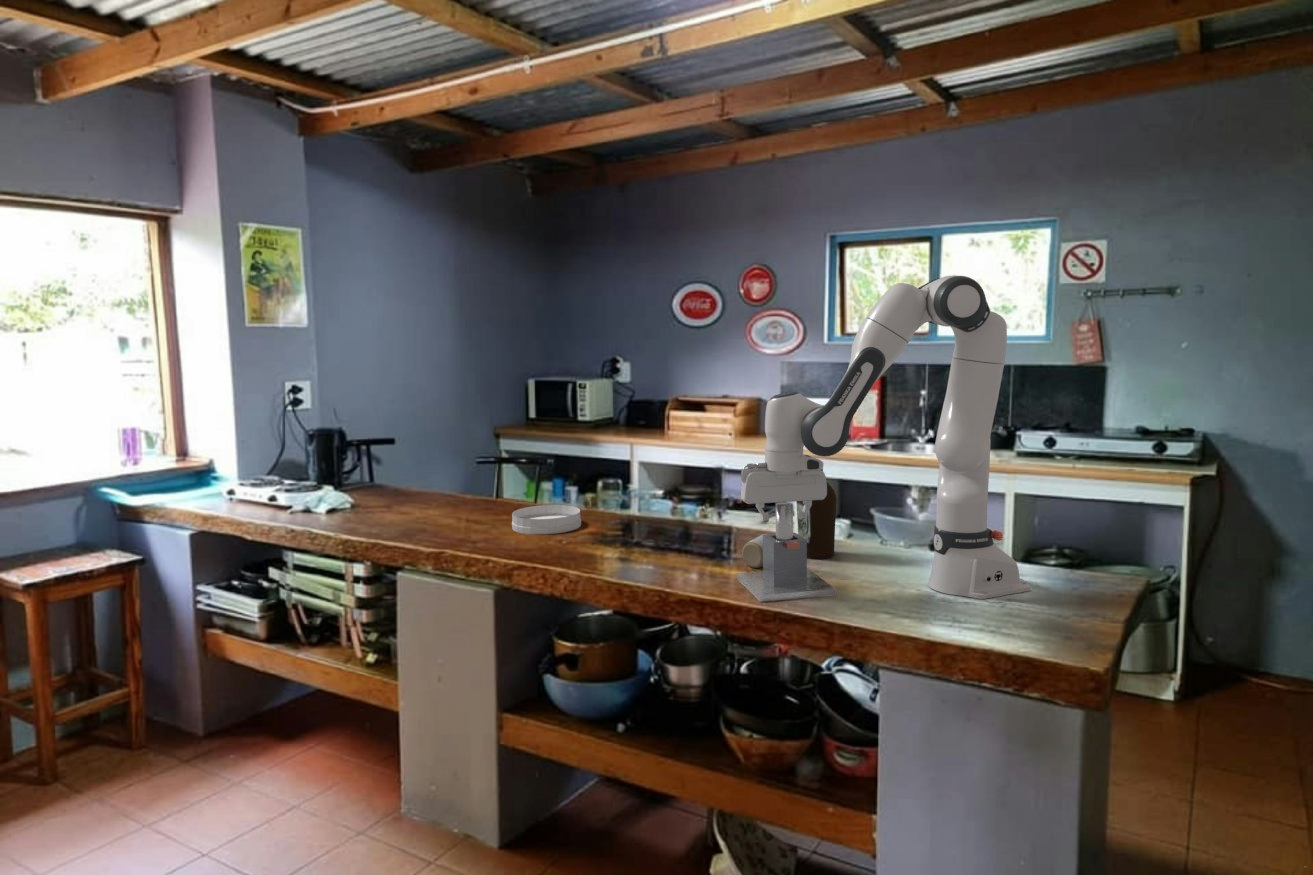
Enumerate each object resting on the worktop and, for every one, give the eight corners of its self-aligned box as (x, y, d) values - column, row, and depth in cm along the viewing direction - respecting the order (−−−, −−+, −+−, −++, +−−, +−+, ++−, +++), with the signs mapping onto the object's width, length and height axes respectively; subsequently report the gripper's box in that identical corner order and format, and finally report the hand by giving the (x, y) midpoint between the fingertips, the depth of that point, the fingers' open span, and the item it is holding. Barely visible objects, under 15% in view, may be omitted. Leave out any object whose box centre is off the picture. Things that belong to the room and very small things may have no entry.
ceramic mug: (739, 566, 214) (739, 537, 213) (757, 559, 220) (757, 531, 219) (774, 574, 207) (775, 544, 206) (791, 566, 213) (792, 537, 212)
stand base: (806, 573, 206) (806, 526, 205) (835, 595, 189) (835, 543, 187) (737, 579, 203) (736, 531, 201) (760, 601, 185) (759, 549, 184)
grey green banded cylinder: (790, 575, 198) (789, 501, 196) (796, 580, 194) (796, 505, 192) (772, 576, 197) (772, 502, 195) (778, 581, 193) (778, 506, 191)
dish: (504, 524, 270) (503, 509, 270) (568, 516, 280) (567, 502, 279) (523, 538, 250) (522, 522, 250) (591, 529, 260) (590, 514, 259)
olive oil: (824, 548, 230) (824, 459, 227) (843, 557, 220) (844, 465, 217) (789, 551, 227) (789, 462, 224) (807, 561, 217) (807, 467, 214)
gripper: (745, 466, 187) (745, 525, 189) (830, 461, 191) (829, 520, 193) (737, 461, 193) (737, 519, 195) (819, 458, 197) (819, 514, 199)
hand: (783, 520), depth 194 cm, fingers open, 8 cm apart
